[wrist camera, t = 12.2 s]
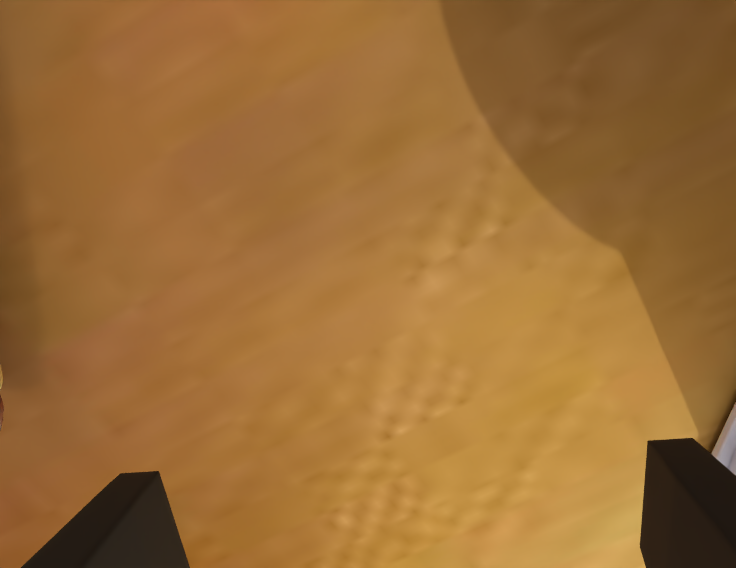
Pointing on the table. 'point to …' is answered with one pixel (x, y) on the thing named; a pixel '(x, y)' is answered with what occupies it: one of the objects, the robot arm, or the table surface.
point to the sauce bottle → (0, 404)
